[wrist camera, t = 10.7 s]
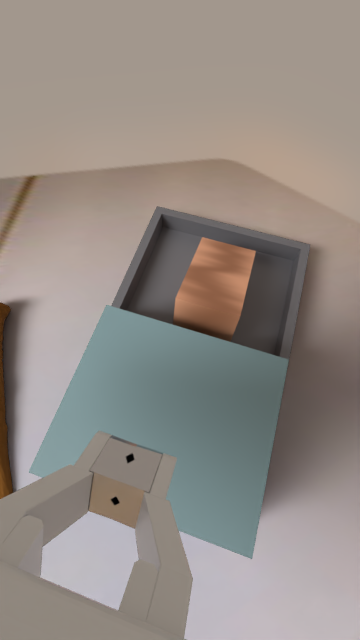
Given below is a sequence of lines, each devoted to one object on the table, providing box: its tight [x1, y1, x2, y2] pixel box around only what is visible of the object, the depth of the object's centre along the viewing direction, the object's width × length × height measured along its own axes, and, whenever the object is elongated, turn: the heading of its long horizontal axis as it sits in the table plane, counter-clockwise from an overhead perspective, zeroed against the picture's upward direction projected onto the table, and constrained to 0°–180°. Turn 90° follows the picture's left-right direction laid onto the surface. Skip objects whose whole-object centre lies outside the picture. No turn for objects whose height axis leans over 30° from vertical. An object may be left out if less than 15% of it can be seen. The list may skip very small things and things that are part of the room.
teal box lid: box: [29, 305, 289, 559], centre depth 22 cm, size 14×12×6 cm
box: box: [112, 206, 310, 369], centre depth 29 cm, size 16×13×2 cm
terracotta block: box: [173, 237, 256, 342], centre depth 26 cm, size 5×4×8 cm
